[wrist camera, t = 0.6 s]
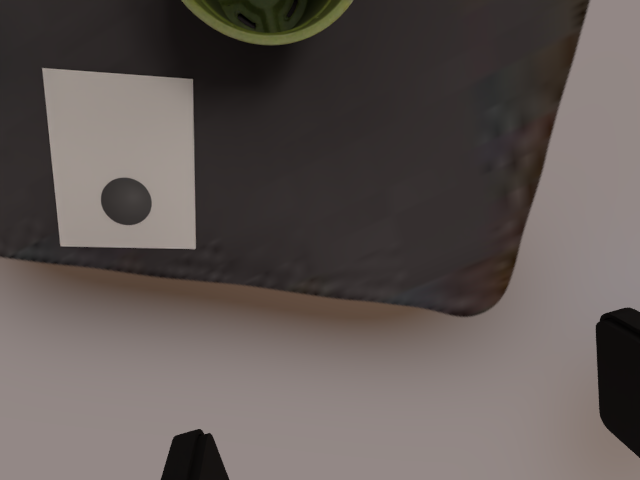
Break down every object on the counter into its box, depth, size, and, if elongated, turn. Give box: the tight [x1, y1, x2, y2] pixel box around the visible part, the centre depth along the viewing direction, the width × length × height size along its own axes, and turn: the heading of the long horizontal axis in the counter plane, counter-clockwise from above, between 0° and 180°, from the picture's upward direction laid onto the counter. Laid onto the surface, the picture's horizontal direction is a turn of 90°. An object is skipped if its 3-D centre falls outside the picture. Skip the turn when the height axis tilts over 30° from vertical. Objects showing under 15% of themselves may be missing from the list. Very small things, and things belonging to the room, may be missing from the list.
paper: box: [42, 68, 196, 249], centre depth 34 cm, size 14×11×1 cm
